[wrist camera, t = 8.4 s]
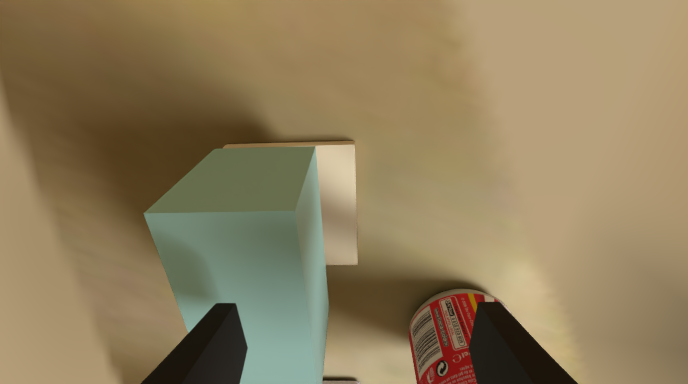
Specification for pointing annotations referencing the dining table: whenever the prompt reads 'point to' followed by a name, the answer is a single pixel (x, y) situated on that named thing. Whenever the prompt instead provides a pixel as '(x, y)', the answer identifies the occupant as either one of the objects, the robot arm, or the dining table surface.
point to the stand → (332, 196)
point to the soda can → (445, 336)
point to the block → (252, 254)
